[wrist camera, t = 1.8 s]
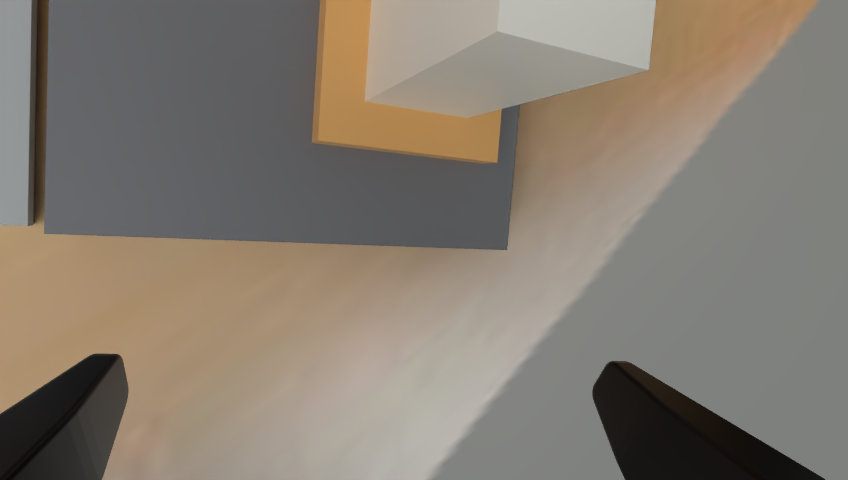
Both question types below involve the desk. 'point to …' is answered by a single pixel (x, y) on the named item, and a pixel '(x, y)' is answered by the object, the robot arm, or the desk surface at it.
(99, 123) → the gray slab with hole
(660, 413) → the robot arm
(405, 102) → the white and tan block
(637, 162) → the desk surface
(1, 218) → the mat
